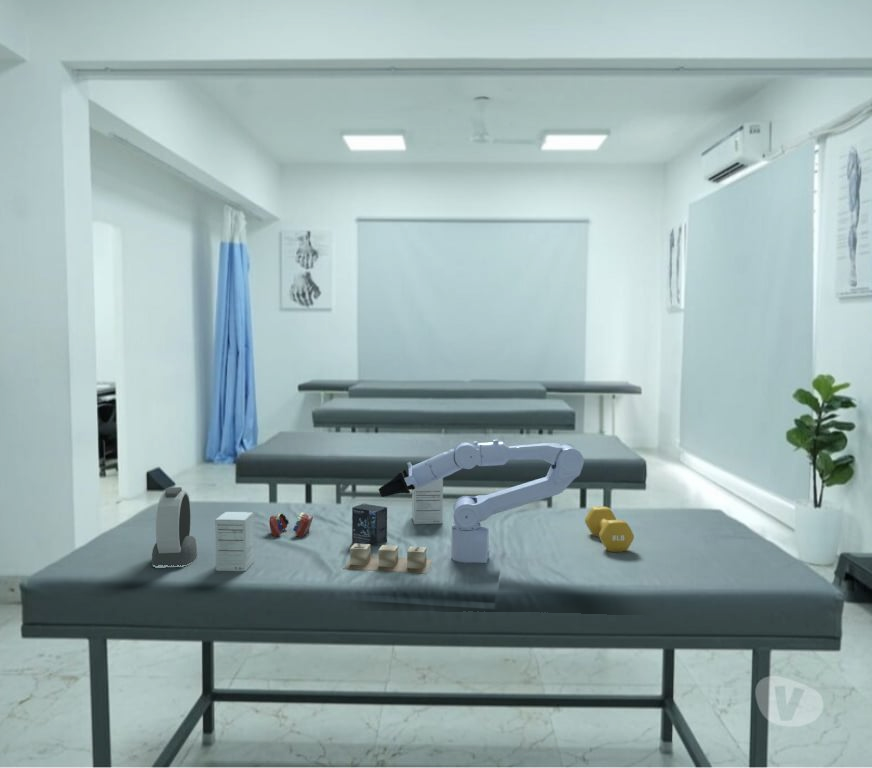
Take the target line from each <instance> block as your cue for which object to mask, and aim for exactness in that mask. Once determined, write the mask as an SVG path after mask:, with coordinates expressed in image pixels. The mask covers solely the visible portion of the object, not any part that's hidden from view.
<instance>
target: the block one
mask: <svg viewBox="0 0 872 768" xmlns="http://www.w3.org/2000/svg"><path fill="white" fill-rule="evenodd" d="M406 553H407V554H406V558H407V568H419V569H424V567H425V565H426V559H427V546H426V547H425V546H409V548H408V549H407V550H406Z"/></svg>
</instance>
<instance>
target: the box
mask: <svg viewBox="0 0 872 768" xmlns="http://www.w3.org/2000/svg"><path fill="white" fill-rule="evenodd" d="M351 510H352V512H351V513H352V514H351V517H352V518H351V530H352V531H351V538H352V539H351V542H352V543H353V544H370V547H374V548H375V547H378V546H380V545H381V546H382V545H384V544H385V543H387V542H388V507H387V506H383V505H375V504H368V503H362V504H359V505H355V506H353V507H352V508H351Z"/></svg>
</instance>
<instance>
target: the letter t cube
mask: <svg viewBox="0 0 872 768" xmlns="http://www.w3.org/2000/svg"><path fill="white" fill-rule="evenodd" d="M349 551H350V553H349V554H350V555H349V556H350V558H349V561H350V565H367V564H368V563H369V561H370V556H371V546H370V544H358V543H353V545H352V546H351V547H350V548H349Z"/></svg>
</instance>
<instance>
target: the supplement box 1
mask: <svg viewBox="0 0 872 768" xmlns="http://www.w3.org/2000/svg"><path fill="white" fill-rule="evenodd" d="M214 521H215V523H214V524H215V570H216V571H217V572H246V571H247V570H248V569H249V568H250V567H251V566H252V564H253V563H254V562H255V540H254V539H255V537H254V536H255V535H254V533H255V531H254V527H255V525H254V524H255V523H254V512H250V511H224V512H223V513H222V514H220V515H219V516H218V517H217V518H216V519H215V520H214Z"/></svg>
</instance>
